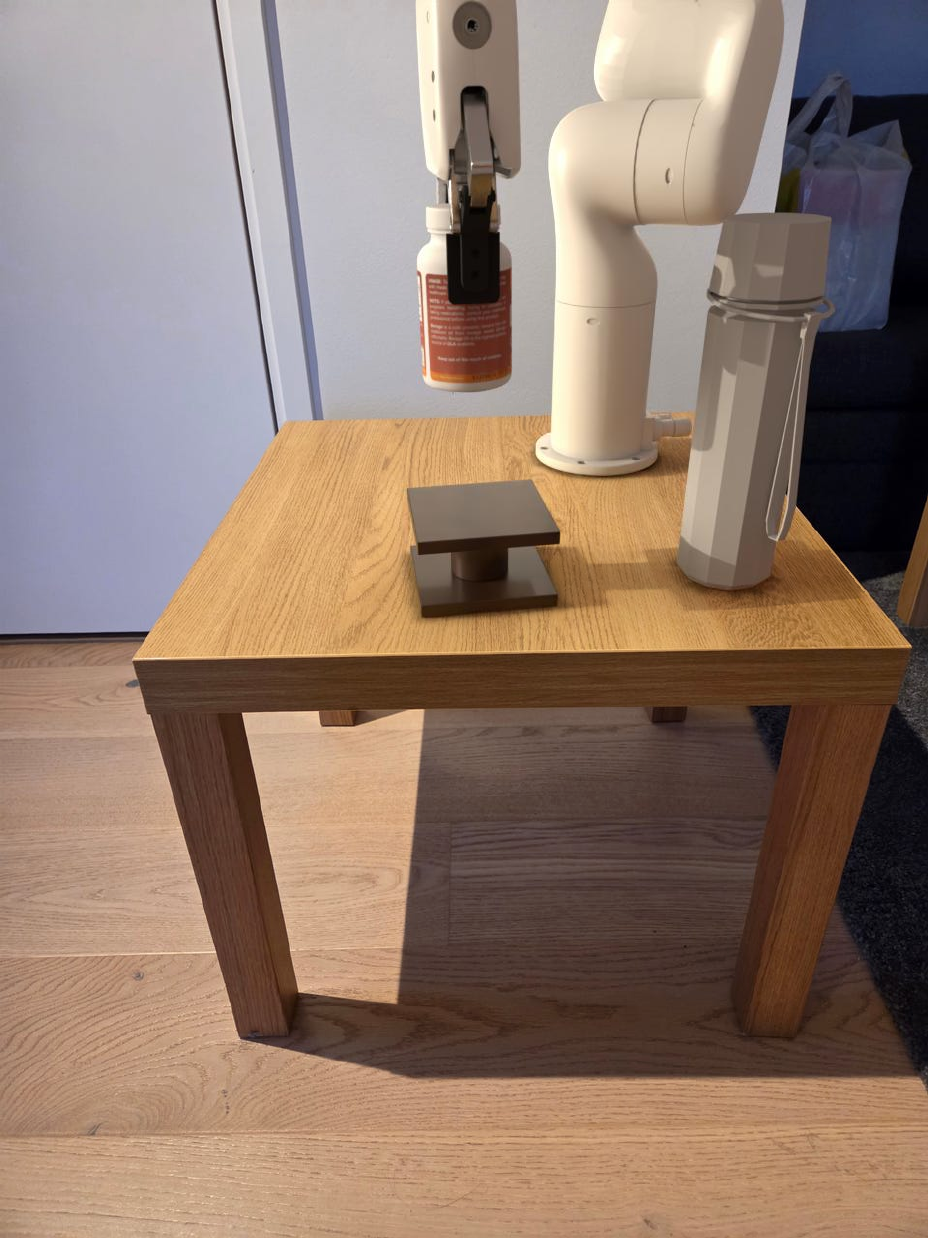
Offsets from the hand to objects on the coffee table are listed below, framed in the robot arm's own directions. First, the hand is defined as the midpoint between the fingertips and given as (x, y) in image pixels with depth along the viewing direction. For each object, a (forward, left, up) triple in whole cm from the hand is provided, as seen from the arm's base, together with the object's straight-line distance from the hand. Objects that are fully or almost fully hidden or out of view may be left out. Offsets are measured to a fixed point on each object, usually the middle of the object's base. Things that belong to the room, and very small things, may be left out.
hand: (466, 290), depth 55 cm
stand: (0, +1, -21) cm, 21 cm away
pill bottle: (0, 0, -6) cm, 6 cm away
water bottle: (-20, +4, -21) cm, 29 cm away
